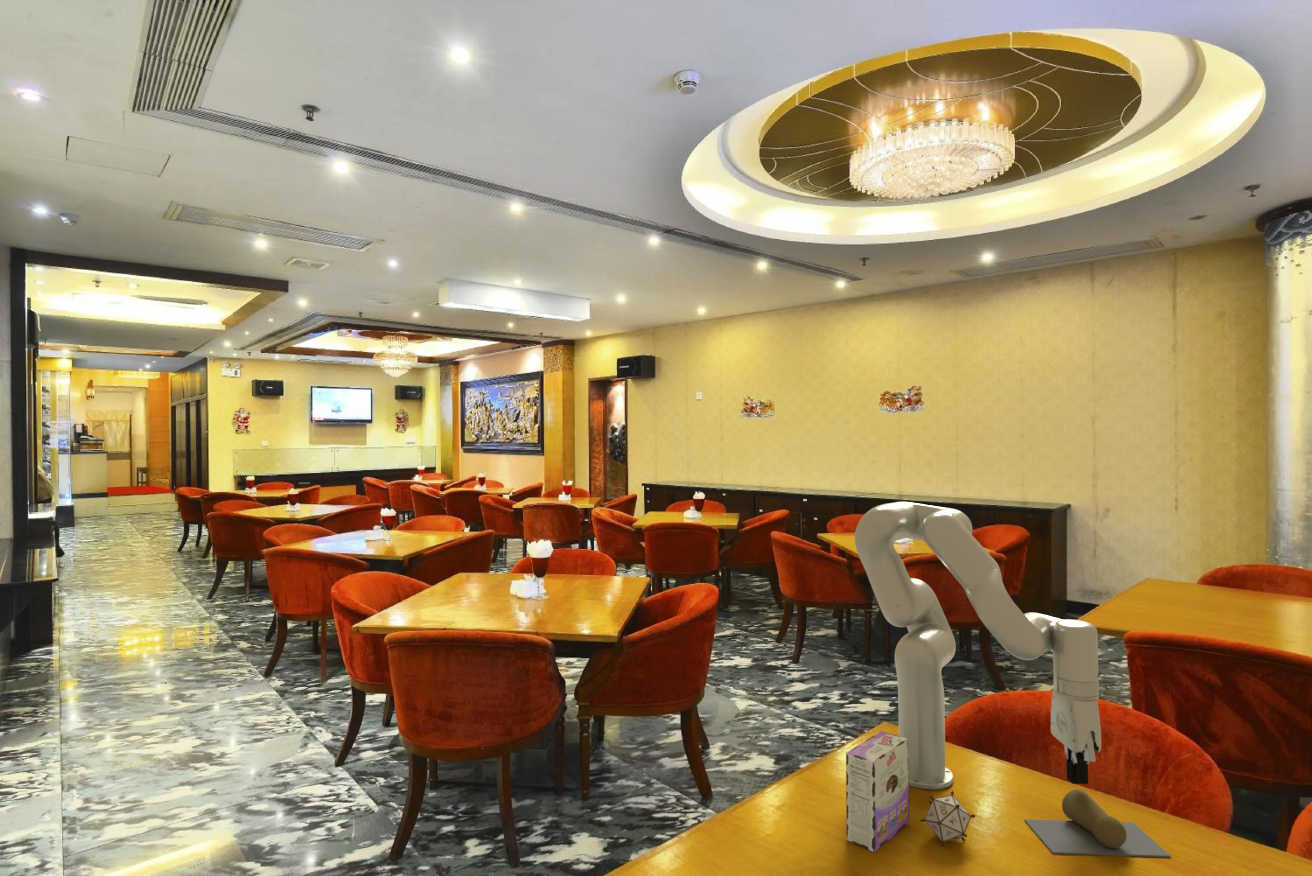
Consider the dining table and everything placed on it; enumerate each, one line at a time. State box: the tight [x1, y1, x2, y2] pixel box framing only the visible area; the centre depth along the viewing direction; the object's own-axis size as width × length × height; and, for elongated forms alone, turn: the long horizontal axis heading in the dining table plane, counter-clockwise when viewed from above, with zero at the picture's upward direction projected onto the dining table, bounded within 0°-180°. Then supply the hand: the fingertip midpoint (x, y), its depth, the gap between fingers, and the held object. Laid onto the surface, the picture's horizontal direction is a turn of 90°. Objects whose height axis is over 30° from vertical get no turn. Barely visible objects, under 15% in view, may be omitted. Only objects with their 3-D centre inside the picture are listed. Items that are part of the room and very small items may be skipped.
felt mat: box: [1024, 818, 1172, 858], centre depth 130 cm, size 20×11×1 cm, turn 86°
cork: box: [1061, 789, 1127, 848], centre depth 130 cm, size 6×6×11 cm
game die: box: [919, 790, 976, 848], centre depth 130 cm, size 9×8×10 cm
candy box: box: [845, 730, 910, 853], centre depth 132 cm, size 14×6×16 cm, turn 135°
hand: (1077, 781), depth 136 cm, fingers closed
